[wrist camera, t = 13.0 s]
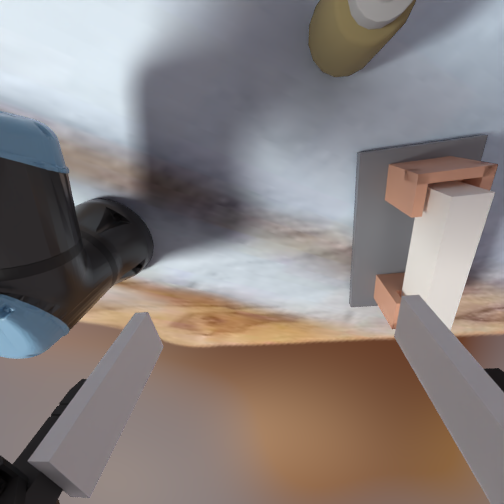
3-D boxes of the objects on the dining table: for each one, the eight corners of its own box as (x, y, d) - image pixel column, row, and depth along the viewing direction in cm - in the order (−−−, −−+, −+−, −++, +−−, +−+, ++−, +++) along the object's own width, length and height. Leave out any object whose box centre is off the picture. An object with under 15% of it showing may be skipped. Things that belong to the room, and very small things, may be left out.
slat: (399, 306, 39) (418, 334, 34) (420, 184, 30) (452, 197, 25) (425, 304, 39) (449, 332, 33) (455, 180, 30) (495, 192, 24)
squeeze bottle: (384, 49, 29) (521, -44, 13) (324, 97, 32) (377, 69, 16) (354, -26, 26) (480, -258, 10) (291, 34, 29) (315, -76, 13)
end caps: (349, 303, 47) (364, 338, 39) (357, 152, 34) (383, 160, 26) (436, 297, 45) (472, 334, 37) (480, 134, 32) (548, 138, 24)
